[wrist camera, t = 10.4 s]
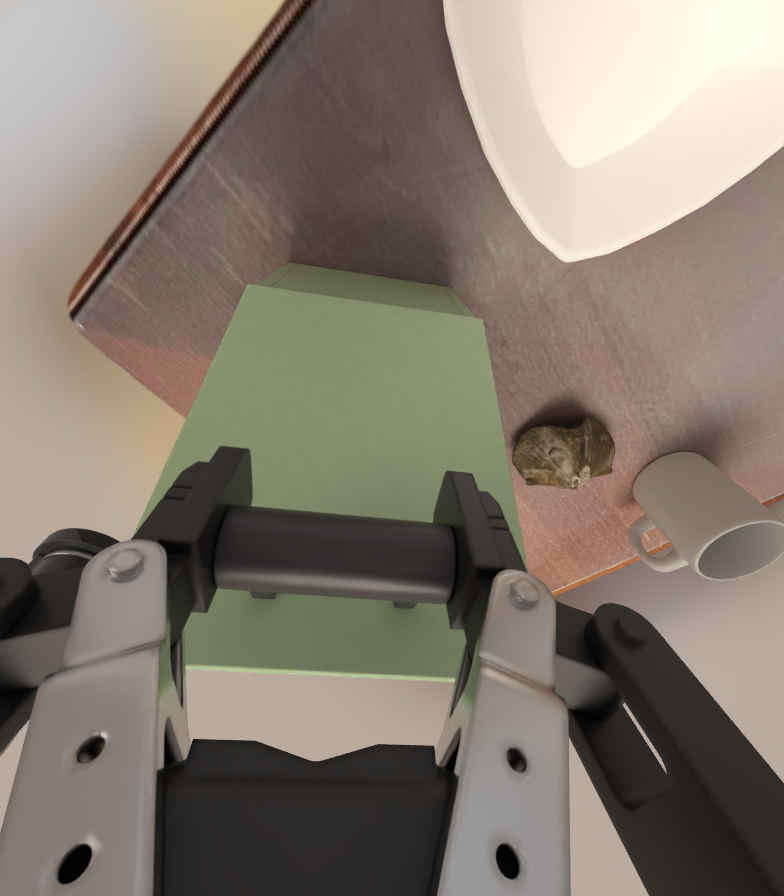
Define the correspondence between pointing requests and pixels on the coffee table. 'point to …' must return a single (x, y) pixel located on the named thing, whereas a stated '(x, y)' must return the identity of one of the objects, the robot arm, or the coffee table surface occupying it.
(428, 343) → the lid
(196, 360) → the coffee table surface
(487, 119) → the bowl
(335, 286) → the chest
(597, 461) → the fossilized seashell
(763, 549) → the mug
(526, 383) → the coffee table surface
